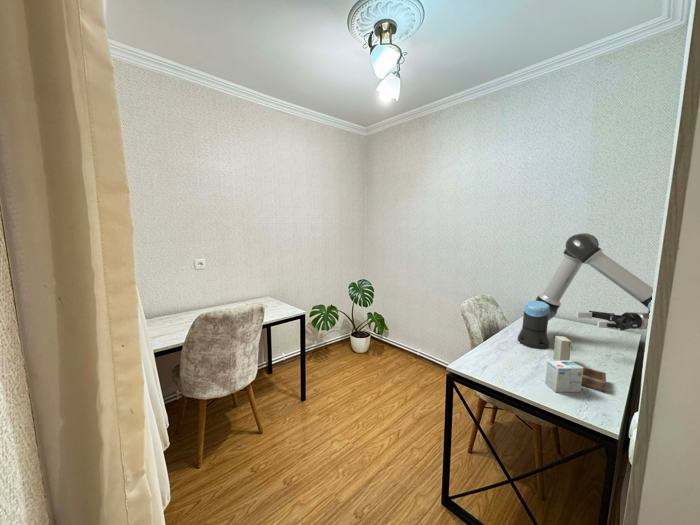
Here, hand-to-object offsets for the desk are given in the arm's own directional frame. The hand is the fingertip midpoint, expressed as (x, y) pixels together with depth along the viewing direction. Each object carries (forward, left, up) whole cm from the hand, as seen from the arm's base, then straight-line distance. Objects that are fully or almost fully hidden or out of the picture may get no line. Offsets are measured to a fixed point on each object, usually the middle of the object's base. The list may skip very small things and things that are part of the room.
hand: (587, 319), depth 136 cm
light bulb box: (-5, -32, -23) cm, 40 cm away
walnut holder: (+3, -20, -22) cm, 30 cm away
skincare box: (-8, -6, -23) cm, 24 cm away
